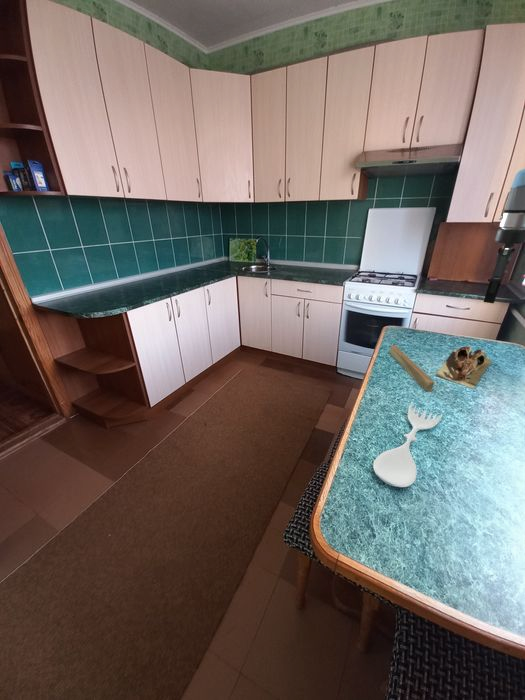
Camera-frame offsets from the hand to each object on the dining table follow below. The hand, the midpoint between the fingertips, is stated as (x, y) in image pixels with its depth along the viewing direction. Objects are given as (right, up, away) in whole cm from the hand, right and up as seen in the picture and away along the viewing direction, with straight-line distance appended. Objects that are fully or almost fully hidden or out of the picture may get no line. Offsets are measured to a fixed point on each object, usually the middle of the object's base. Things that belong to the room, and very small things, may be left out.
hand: (490, 297), depth 97 cm
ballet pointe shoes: (+1, -24, +14) cm, 28 cm away
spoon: (-38, -43, -21) cm, 62 cm away
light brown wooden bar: (-21, -25, +13) cm, 35 cm away
